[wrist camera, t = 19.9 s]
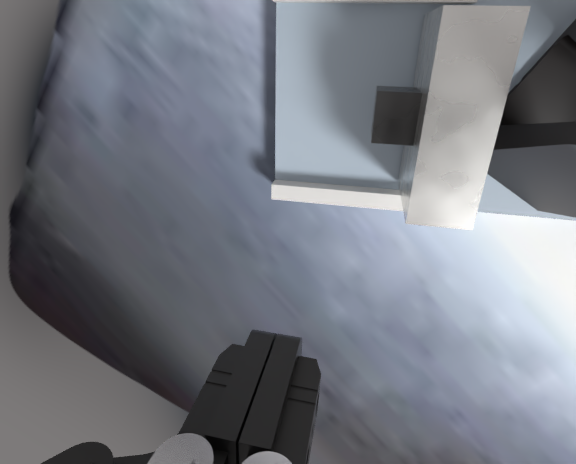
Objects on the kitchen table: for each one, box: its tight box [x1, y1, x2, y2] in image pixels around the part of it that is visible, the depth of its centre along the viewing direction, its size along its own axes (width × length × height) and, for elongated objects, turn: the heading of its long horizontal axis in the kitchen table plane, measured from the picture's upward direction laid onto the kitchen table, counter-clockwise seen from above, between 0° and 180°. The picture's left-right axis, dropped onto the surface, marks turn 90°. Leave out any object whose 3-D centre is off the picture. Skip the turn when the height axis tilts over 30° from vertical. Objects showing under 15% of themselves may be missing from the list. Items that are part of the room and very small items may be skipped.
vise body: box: [272, 0, 576, 220], centre depth 19 cm, size 24×12×7 cm, turn 89°
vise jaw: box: [371, 5, 531, 230], centre depth 19 cm, size 5×9×6 cm, turn 179°
